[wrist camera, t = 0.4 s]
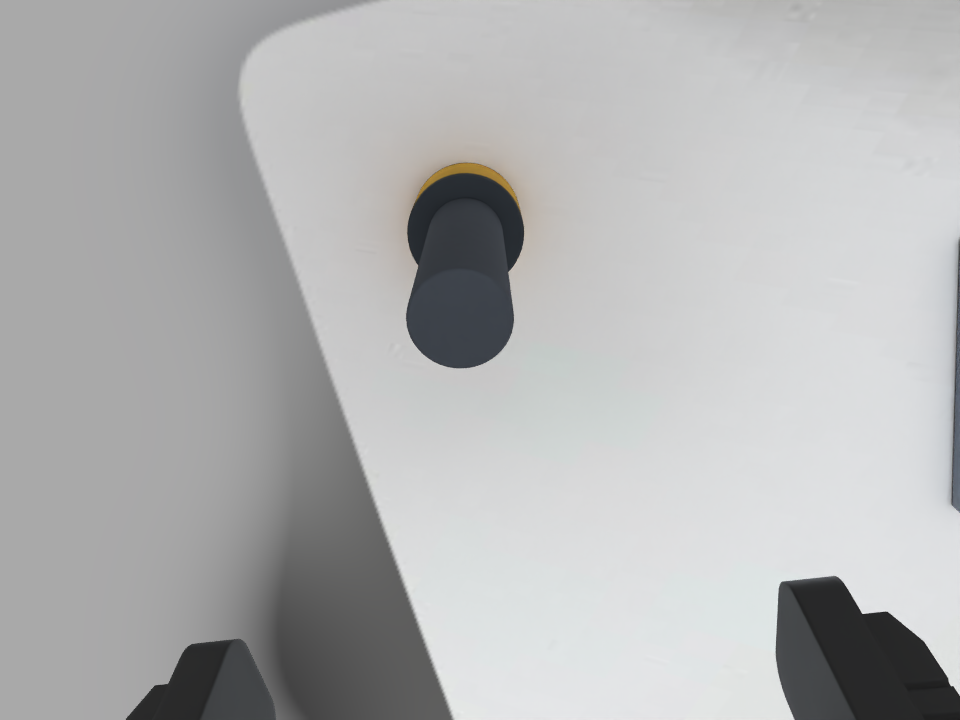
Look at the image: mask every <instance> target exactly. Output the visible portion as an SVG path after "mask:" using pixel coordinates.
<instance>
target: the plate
mask: <svg viewBox="0 0 960 720" xmlns="http://www.w3.org/2000/svg"><path fill="white" fill-rule="evenodd" d="M952 505H953V507H954V508H955V509H956V510H957V511H958V512H960V262H959V296H958V329H957V363H956V396H955V430H954V463H953V496H952Z"/></svg>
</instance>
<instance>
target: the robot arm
mask: <svg viewBox="0 0 960 720" xmlns="http://www.w3.org/2000/svg"><path fill="white" fill-rule="evenodd" d="M776 662H777V668H778V673H779V678H780V682H781V685H782V689H783V692H784V695H785V697H786V700H787V702H788V705H789V707H790V710H791V712H792V714H793V717H794V719H795V720H960V696H959V694H958V693H957V691H956V690H955V688H954V687H953V686H950V684H949V681H948V678H947V676H946V674H945V673H944V671H943V670H942V668H941V667H940V665H939V664H938V662H937V661H936V659H935V658H934V656H933V655H932V653H931V652H930V650H929V649H928V647H927V646H926V644H925V643H924V641H923V640H921V639H920V638H919V637H918V636H916V635H915V634H914V633H913V632H912V631H910V630H909V629H908V628H907V627H906V626H904V625H903V624H902V623H901V622H899V621H898V620H897V619H896V618H895V617H893V616H892V615H891V614H890V613H888V612H878V613H869V614H862V613H861V611H860V609H859V608H858V606H857V604H856V602H855V601H854V599H853V597H852V596H851V594H850V592H849V591H848V589H847V587H846V586H845V584H844V583H843V582H842V580H841V579H839V578H838V577H836V576H831V577H821V578H812V579H803V580H794V581H785V582H781V584H780V586H779V594H778V614H777V634H776ZM126 720H276V714H275V708H274V703H273V700H272V698H271V695H270V693H269V691H268V689H267V687H266V685H265V683H264V681H263V679H262V676H261V674H260V672H259V670H258V668H257V666H256V664H255V662H254V659H253V657H252V655H251V653H250V651H249V649H248V647H247V645H246V643H245V642H244V641H242V640H241V639H234V640H224V641H216V642H206V643H197V644H191V645H190V646H188V647H187V648H186V649H185V650H184V652H183V653H182V655H181V657H180V659H179V661H178V664H177V666H176V668H175V670H174V672H173V675H172V677H171V679H170V681H169V683H168V684H165V685H156V686H154V687H153V688H152V689H151V691H150V692H149V693H148V694H147V695H146V696H145V698H144V699H143V700H142V701H141V702H140V703H139V704H138V706H137V707H136V708H135V709H134V710H133V712H132V713H131V714H130V715H129V716H128V717H127V718H126Z"/></svg>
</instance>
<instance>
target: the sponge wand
mask: <svg viewBox="0 0 960 720" xmlns="http://www.w3.org/2000/svg"><path fill="white" fill-rule="evenodd" d="M407 235H408V243H409V247H410V250H411V253H412V256H413V257H414V259H415V261H416V263H417V264H418V270H417V273H416V277H415V281H414V284H413V288H412V292H411V296H410V299H409V303H408V307H407V313H406V321H407V328H408V332H409V334H410V337H411V339H412V341H413V343H414V344H415V346H416V347H417V348H418V349H419V350H420V351H421V353H422V354H424V355H425V356H426V357H427V358H429V359H430V360H432V361H434V362H436V363H438V364H440V365H443V366H446V367H451V368H470V367H475V366H478V365H481V364H483V363H485V362H487V361H489V360H491V359H492V358H494V357H495V356H496V355H497V354H498V353H499V352H500V351H501V350H502V349H503V348H504V347H505V345H506V344H507V342H508V340H509V338H510V336H511V333H512V329H513V323H514V313H513V305H512V298H511V290H510V282H509V275H508V272H509V271H510V270H511V268H512V267H513V266H514V264H515V263H516V261H517V259H518V257H519V255H520V252H521V250H522V246H523V240H524V226H523V220H522V216H521V212H520V208H519V204H518V201H517V197H516V195H515V193H514V191H513V189H512V188H511V186H510V185H509V183H508V182H507V181H506V180H505V179H504V178H503V177H502V176H501V175H500V174H498V173H497V172H495V171H494V170H492V169H490V168H488V167H485V166H483V165H479V164H474V163H459V164H454V165H451V166H448V167H445V168H443V169H441V170H439V171H438V172H436V173H435V174H433V175H432V176H431V177H430V178H429V179H428V180H427V181H426V183H425V184H424V185H423V187H422V188H421V190H420V192H419V194H418V196H417V199H416V201H415V203H414V206H413V208H412V211H411V214H410V217H409V222H408V232H407Z"/></svg>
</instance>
